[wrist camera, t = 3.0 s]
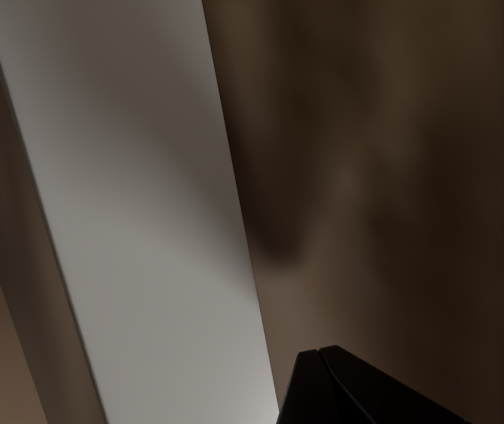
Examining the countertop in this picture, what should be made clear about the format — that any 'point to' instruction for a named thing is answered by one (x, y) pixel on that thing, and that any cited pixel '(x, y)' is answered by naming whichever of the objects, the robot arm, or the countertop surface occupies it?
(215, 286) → the base board
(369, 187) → the countertop surface
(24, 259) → the link
